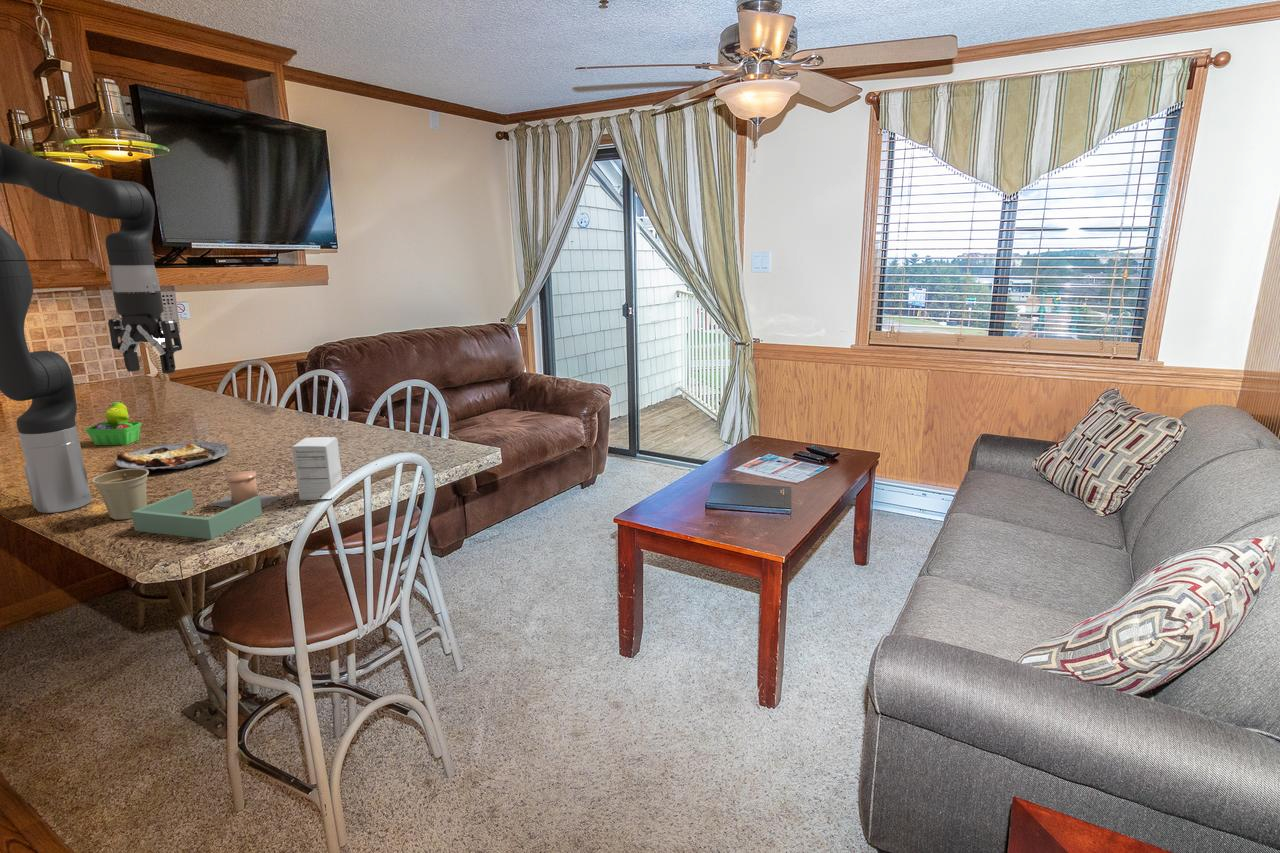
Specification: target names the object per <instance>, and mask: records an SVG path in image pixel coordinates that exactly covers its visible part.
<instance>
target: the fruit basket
mask: <svg viewBox="0 0 1280 853" xmlns="http://www.w3.org/2000/svg"><path fill="white" fill-rule="evenodd" d="M104 417H105V418H106V421H102V422H98V423H97V424H95V425H91V426H88V427H87V428H85V429H84V430H85V432H86V433H87V434H88V435H89V437H90V439H91V441H92V442H93V444H94V445H95V446H127V445H129V444H132V443H135V442H137V441H139V439H140V433H141V432H140V431H141V426H142V422H141V421H140V422H139V421H138V422H135V421H133V422H132V421H130V422H129V417H130V416H129V412H128V408H127V406H126V405H125V404H124V402H122V401H121V402H120V401H114V402H112V404H111V406H110V407H109V408H108V409H107V410H106V411H105V413H104Z"/></svg>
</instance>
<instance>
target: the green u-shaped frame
mask: <svg viewBox="0 0 1280 853" xmlns="http://www.w3.org/2000/svg"><path fill="white" fill-rule="evenodd" d="M194 507H195V502H194V497H193V490H192V489H186V490H184V491H180V492H178V493H176V494H174V495H171V496H168V497H165V498H163V499H160V500H158V501H155V502H153V503H150V504H148V505H147V506H145V507H142V508H140V509H137V510H134V511H132V512H131V514H132V518H131V519H132V524H133V528H134V531H135V532H140V533H141V532H142V533H143V532H144V533H150V534H151V533H152V534H158V535H159V534H161V535H168V536H169V535H170V536H177V537H186V538H187V537H188V538H196V539H203V540H204V539H205V540H214V539H215V537H216V538H217V536H218V537H220V536H222V535H223V534H225V533H228V532H229V531H232V530H234V529H236V528H239V527H240V526H242V525H244V524H246V523H248V522H250V521H252V520H254V519H257V518H258V517H260V516H262V515H263V511H262V508H261V502H260V497H258V496H255V497H253V498H251V499H248V500H246V501H244V502H242V503H240V504H237V505H235V506H233V507H231V508H225V509H224V510H222V511H220V512H217V513H215V514H213V515H210V516H208V517H207V516H206V517H204V516H196V515H186V514H183V513H185V512H188V511H190V510H192V508H193V509H194ZM189 509H190V510H189ZM187 510H188V511H187ZM184 511H185V512H184ZM182 512H183V513H182ZM180 513H181V514H180ZM219 535H220V536H219ZM213 538H214V539H213Z"/></svg>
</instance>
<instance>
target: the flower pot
mask: <svg viewBox="0 0 1280 853" xmlns="http://www.w3.org/2000/svg"><path fill="white" fill-rule="evenodd" d="M149 473H150V470H149V471H148V469H147V470H146V469H125V468H124V469H119V470H114V471H109V472H106V473H102V474H99V475H97V476H95V477H93V478H92V479H91V482H92V484H93V485H95V487H96V489H97V490H98V491H99V493H100V495H101V498H102V500H103V503H104V505H105V507H106V510H107V512H108V514H109V517H110V519H113V520H115V521H117V520H118V521H119V520H129V519H132V514H131V512H132V511H134V510H137V509H140V508H142V507H145V506H147V503H148V502H147V481H148V475H149Z"/></svg>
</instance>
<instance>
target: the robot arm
mask: <svg viewBox="0 0 1280 853" xmlns="http://www.w3.org/2000/svg"><path fill="white" fill-rule="evenodd" d="M0 184H8V185H16V186H23V187H27V188H29V189H31V190H33V191H34V192H35V193H37V194H38V195H41V196H42V197H44V198H47V199H49V200H51V201H52V200H53V201H56V202H59V203H63V204H65V205H69V206H73V207H78V208H79V209H81V210H83V211H85V212H87V213H89V214H91V215H94V216H97V217H100V218H104V219H111V220H120V227H119V230H118V231H117V232H113V233H109V234H108V235H106V236H105V241H104V243H105V250H106V254H107V259H108V264H109V278H110V280H109V281H110V285H111V291H112V295H113V301H114V306H115V311H116V313H117V315H118V316H121V317H119V318H111V319H108V328H109V336H110V343H111V348H112V349H113V350H118V351H120V353H122V355H123V360H124V366H125V369H126V371H127V372H132V373H133V372H137V371H140V370H141V367H140V366H141V365H140V361H139V355H138V352H137V351H136V350H137V349H138V346H139V345H140V344H141V343H142V342H143V343H148V344H149V345H150V346H151V347H154V348H155V349H156V351H158V353H159V360H160V366H161V367H160V368H161V373H162V374H165V375H166V374H167V375H169V374H173V373H175V372H176V362H175V356H174V354H175V353H176V352H179V351H182V350H183V345H182V340H181V335H180V331H179V326H178V322H177V321H176V320H175V319H169V320H163V318H162V317H161V314H163V313H164V311H165V309H164V305H163V304H164V303H163V297H162V290H161V287H160V281H159V276H158V272H157V269H156V266H155V261H154V260H155V259H154V254H153V249H152V239H153V230H154V225H155V224H154V223H155V214H156V213H155V212H156V206H155V202H154V199H153V196H152V194H151V193H150V191H149V190H148V188H146V186H144V185H143V184H140V183H139V182H136V181H129V180H121V179H111V178H104V177H99V176H96V175H95V174H94V173H92V172H90V171H88V170H85V169H82V168H80V167H79V168H78V167H75V166H72V165H69V164H65V163H61V162H57V161H53V160H49V159H46V158H45V159H44V158H40V157H37V156H35V155H32V154H29V153H27V152H25V151H22V150H20V149H18V148H15V147H13V146H11V145H9V144H8V143H6V142H3V141H1V140H0ZM24 252H25V251H24V250H23V249H22V247H21V246H20V244H19V243H18V242H17V241H16V240H15V239H14V238H13V236H12V235H11V234H10V233H9V232H8V231H7V230H6V229H5V227H3V226H2V225H1V224H0V392H1V393H2V394H3V395H4V396H5V397H7V398H8V399H10V400H13V401H16V402H17V401H18V402H24V401H29V400H31V404H30V406H29V407H28V409H27V410H26V411H25V412H23V413H22V414H21V415H20V416H18V417H17V419H16V422H15V423H16V427H17V433H18V436H19V440H20V441H19V442H20V445H21V448H22V452H23V456H24V457H23V458H24V460H25V465H24V467H23V469H24V473H25V478H26V482H27V486H28V491H29V496H30V499H31V504H32V508H33V509H35V510H36V512H39V513H43V514H45V513H46V514H49V513H51V514H53V513H60V512H67V511H71V510H72V511H73V510H75V509H78V508H82V507H85V506H87V505H88V504H90V503H91V502H92V501H93V500H92V494H91V489H90V486H89V479H88V476H87V470H86V466H85V460H84V456H83V452H82V451H83V450H82V448H81V442H80V437H79V434H78V433H79V432H78V429H77V423H76V416H77V411H78V404H77V398H76V391H75V384H74V383H75V382H74V377H73V373H72V370H71V368H70V366H69V363H68V362H67V361H66V359H65V358H64V357H63V356H62V355H61V354H59V353H58V352H55V351H52V350H38V351H29V347H28V345H27V343H28V342H27V341H26V340H27V339H26V335H25V321H26V318H27V317H26V316H27V315H28V311H29V308H30V306H31V305H30V304H31V302H32V299H33V293H34V281H33V276H32V274H31V270H30V266H29V263H28V260H27V257H26V254H25V253H24ZM119 338H120V340H119Z"/></svg>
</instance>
